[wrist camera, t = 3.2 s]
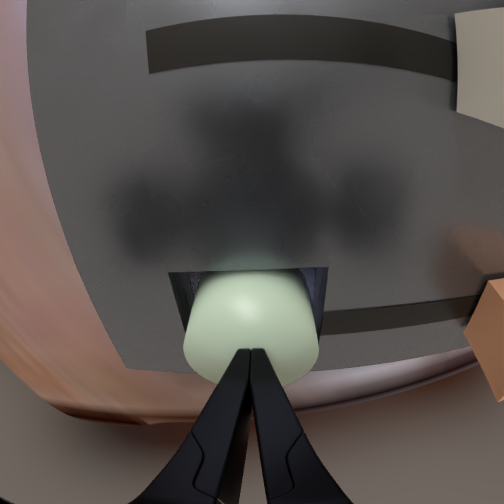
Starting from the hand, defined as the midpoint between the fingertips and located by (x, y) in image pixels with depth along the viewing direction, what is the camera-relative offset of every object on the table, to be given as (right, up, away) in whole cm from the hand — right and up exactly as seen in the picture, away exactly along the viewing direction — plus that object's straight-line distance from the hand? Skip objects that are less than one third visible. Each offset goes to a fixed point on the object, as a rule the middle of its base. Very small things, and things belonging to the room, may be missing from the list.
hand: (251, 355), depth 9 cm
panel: (+4, +6, 0) cm, 7 cm away
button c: (0, +2, +3) cm, 3 cm away
